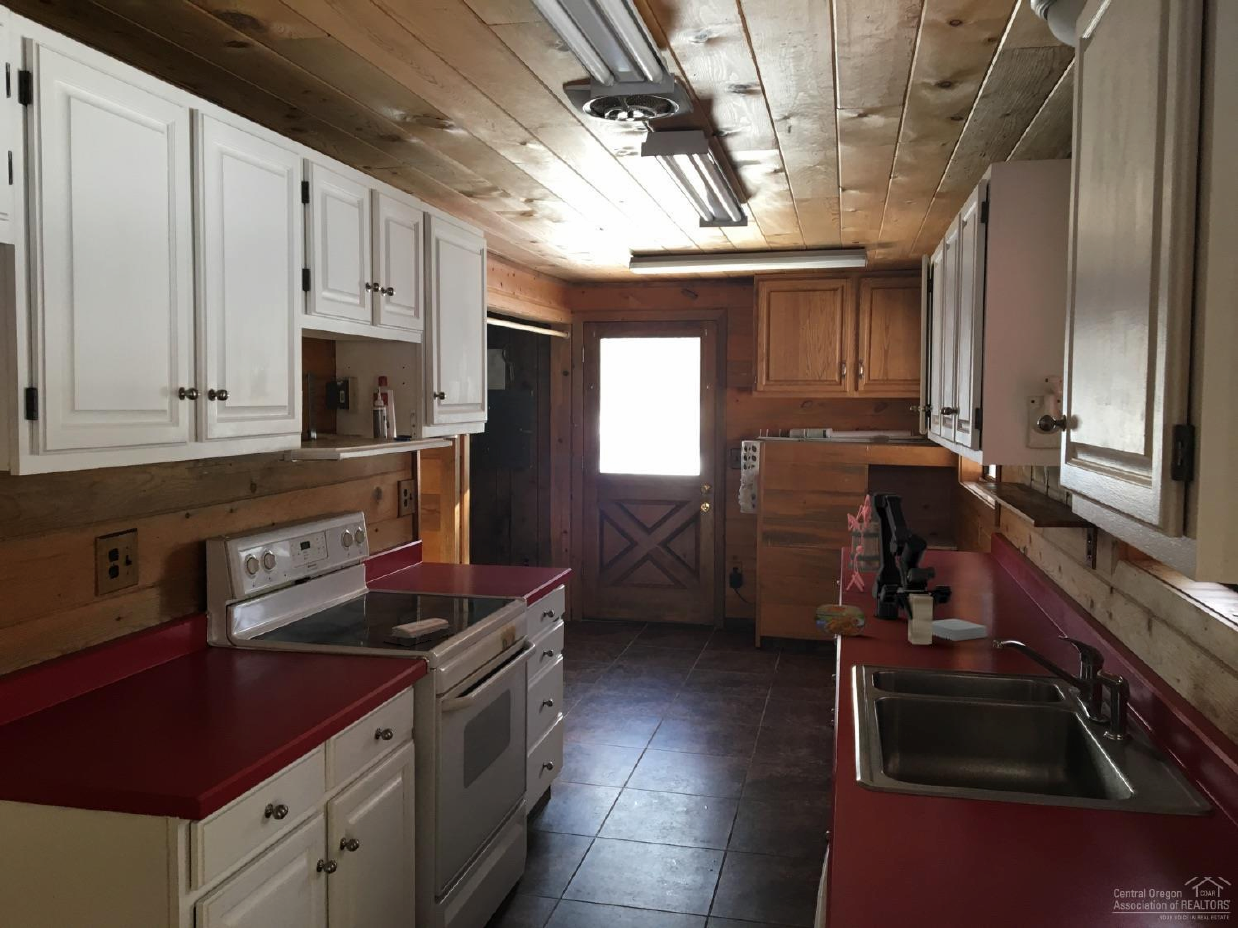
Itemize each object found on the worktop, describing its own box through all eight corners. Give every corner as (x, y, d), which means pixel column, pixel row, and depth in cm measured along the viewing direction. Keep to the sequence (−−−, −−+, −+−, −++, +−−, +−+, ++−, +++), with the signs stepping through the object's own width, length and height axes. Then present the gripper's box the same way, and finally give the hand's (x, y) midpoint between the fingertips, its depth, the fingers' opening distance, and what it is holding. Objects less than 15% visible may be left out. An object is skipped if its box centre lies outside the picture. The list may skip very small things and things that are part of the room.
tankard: (844, 572, 387) (845, 523, 386) (845, 566, 403) (846, 519, 402) (904, 574, 381) (905, 525, 380) (903, 568, 397) (904, 521, 396)
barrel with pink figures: (840, 594, 334) (844, 496, 333) (849, 583, 359) (852, 491, 357) (885, 598, 329) (889, 498, 328) (891, 587, 353) (895, 493, 352)
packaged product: (430, 615, 275) (455, 619, 269) (430, 631, 275) (455, 636, 270) (382, 626, 260) (407, 630, 254) (382, 643, 260) (407, 648, 255)
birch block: (908, 639, 265) (909, 593, 264) (926, 640, 265) (927, 594, 264) (913, 644, 260) (914, 597, 259) (931, 644, 260) (932, 597, 259)
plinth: (923, 632, 275) (923, 622, 274) (954, 628, 280) (954, 618, 280) (954, 640, 264) (955, 630, 264) (986, 636, 269) (986, 626, 269)
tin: (813, 632, 275) (813, 603, 274) (816, 630, 278) (816, 601, 277) (865, 637, 268) (865, 608, 268) (867, 635, 271) (868, 606, 270)
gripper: (883, 556, 265) (893, 602, 255) (950, 556, 265) (963, 603, 254) (876, 579, 274) (885, 625, 263) (941, 579, 273) (953, 626, 263)
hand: (921, 619), depth 260 cm, fingers closed on birch block, 5 cm apart
